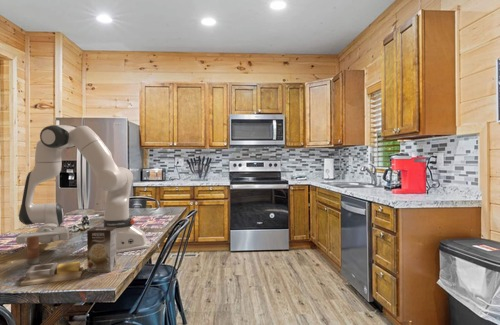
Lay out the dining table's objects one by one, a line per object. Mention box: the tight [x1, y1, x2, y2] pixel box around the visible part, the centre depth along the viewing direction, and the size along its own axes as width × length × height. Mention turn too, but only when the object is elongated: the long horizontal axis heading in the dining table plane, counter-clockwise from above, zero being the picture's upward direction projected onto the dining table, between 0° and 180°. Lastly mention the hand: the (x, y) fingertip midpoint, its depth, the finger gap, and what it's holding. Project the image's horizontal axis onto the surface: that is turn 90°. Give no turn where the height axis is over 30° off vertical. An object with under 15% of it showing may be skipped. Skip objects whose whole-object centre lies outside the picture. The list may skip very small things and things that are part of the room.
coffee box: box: [86, 226, 117, 273], centre depth 125 cm, size 9×6×16 cm
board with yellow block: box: [20, 260, 85, 287], centre depth 119 cm, size 18×14×4 cm
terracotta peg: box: [26, 236, 40, 270], centre depth 128 cm, size 4×4×12 cm
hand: (39, 240), depth 139 cm, fingers open, 8 cm apart
